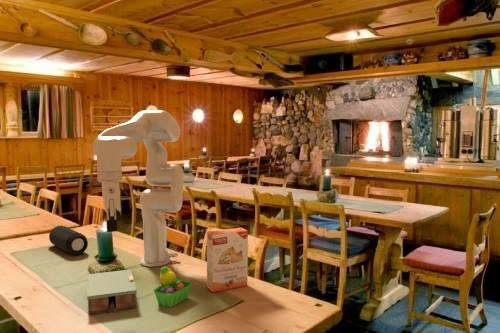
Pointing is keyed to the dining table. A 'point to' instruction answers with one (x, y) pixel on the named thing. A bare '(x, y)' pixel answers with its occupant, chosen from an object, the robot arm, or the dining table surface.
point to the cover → (110, 284)
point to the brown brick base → (104, 304)
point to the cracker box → (227, 259)
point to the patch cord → (111, 302)
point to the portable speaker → (68, 240)
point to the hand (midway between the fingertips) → (112, 231)
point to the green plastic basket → (171, 288)
